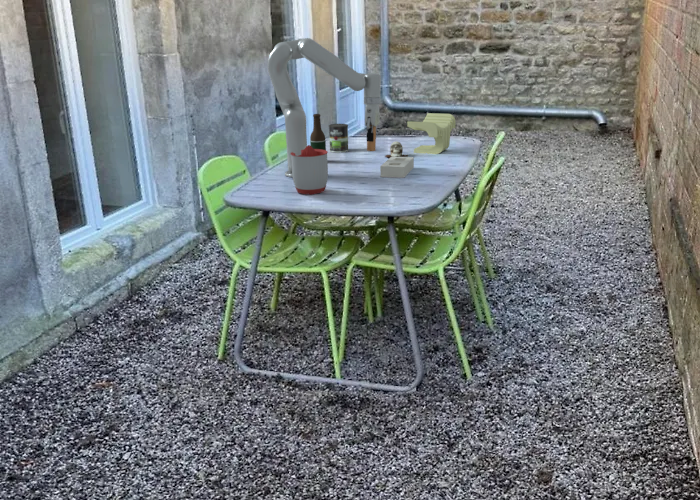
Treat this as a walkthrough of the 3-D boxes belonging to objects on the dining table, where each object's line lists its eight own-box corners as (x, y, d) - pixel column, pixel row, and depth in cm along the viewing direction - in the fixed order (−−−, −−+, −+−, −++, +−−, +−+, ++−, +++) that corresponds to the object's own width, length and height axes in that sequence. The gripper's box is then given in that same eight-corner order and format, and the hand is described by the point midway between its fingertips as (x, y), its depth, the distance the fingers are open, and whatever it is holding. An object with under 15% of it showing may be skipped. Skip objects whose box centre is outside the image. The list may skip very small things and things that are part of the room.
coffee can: (345, 153, 386) (344, 126, 382) (327, 152, 389) (326, 126, 385) (351, 149, 395) (350, 123, 391) (333, 148, 398) (332, 123, 394)
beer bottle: (327, 160, 370) (325, 112, 362) (325, 163, 362) (323, 115, 355) (312, 160, 371) (310, 113, 363) (310, 163, 363) (307, 115, 356)
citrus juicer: (306, 185, 319) (304, 140, 312) (336, 190, 308) (335, 143, 302) (282, 192, 307) (279, 146, 301) (312, 198, 297) (309, 150, 290)
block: (404, 177, 326) (404, 166, 325) (380, 177, 329) (380, 166, 328) (413, 167, 346) (413, 157, 345) (391, 166, 349) (391, 156, 348)
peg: (374, 151, 337) (374, 121, 333) (365, 150, 338) (366, 120, 334) (376, 149, 341) (376, 120, 337) (368, 149, 342) (368, 119, 338)
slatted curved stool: (436, 157, 367) (437, 122, 361) (407, 155, 374) (407, 121, 368) (455, 147, 392) (455, 114, 387) (427, 145, 399) (427, 113, 393)
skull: (409, 156, 366) (395, 142, 365) (394, 170, 370) (380, 155, 368) (410, 151, 377) (397, 137, 376) (396, 164, 381) (382, 150, 379)
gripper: (375, 103, 324) (374, 143, 330) (384, 99, 339) (383, 138, 345) (359, 102, 326) (358, 143, 332) (368, 98, 341) (368, 137, 347)
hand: (371, 140), depth 338 cm, fingers closed on peg, 4 cm apart
